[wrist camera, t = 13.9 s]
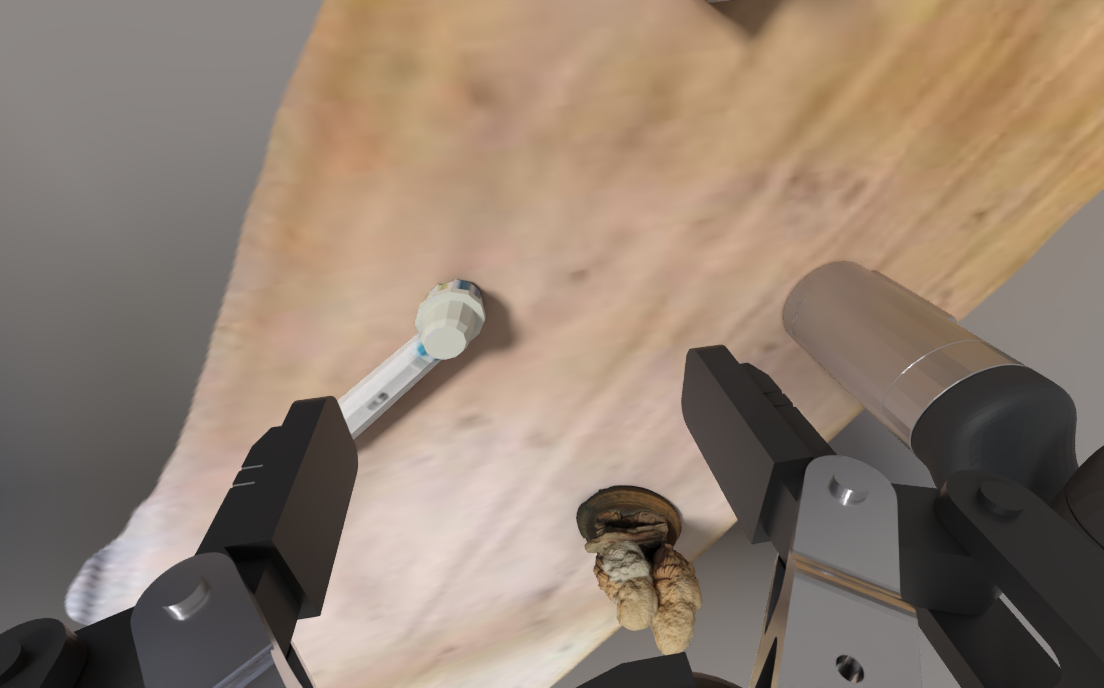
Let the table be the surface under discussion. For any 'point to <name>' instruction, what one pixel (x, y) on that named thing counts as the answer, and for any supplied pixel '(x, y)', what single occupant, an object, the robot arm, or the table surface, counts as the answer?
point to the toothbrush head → (417, 352)
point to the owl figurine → (642, 563)
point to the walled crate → (715, 1)
